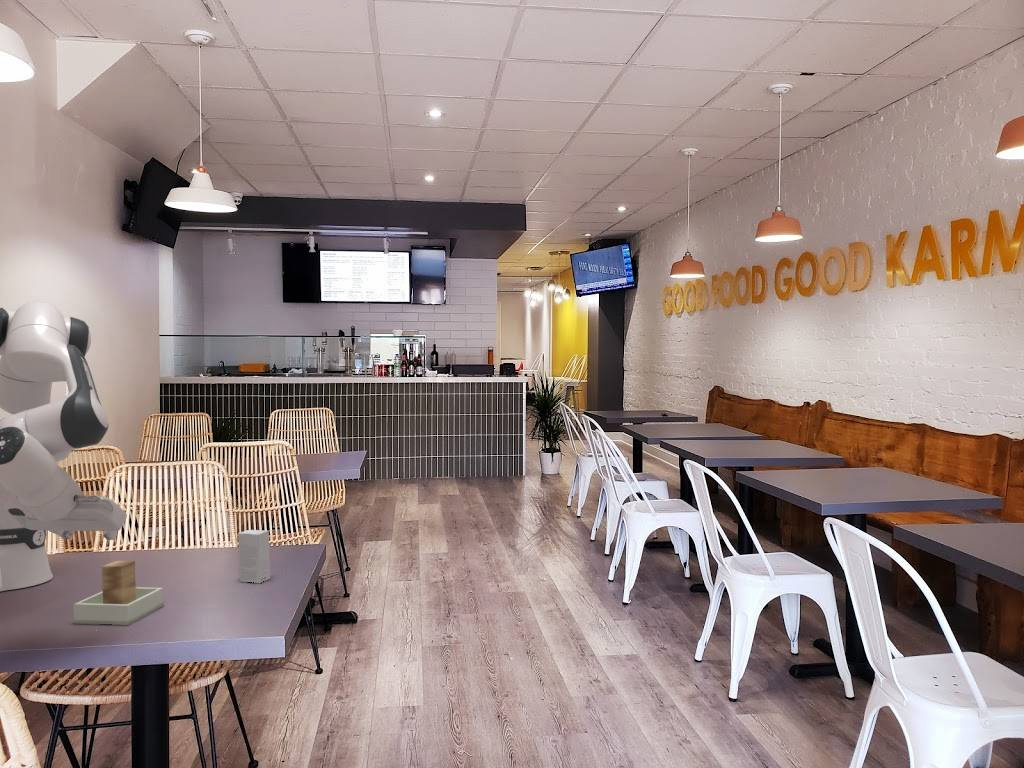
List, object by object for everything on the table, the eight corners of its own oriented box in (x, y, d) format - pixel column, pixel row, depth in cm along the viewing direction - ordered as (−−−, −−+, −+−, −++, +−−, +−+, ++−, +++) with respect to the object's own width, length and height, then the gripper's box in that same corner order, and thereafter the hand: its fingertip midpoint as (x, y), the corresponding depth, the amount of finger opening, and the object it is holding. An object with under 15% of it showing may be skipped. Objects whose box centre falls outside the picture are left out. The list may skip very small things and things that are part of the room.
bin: (73, 623, 151) (73, 604, 151) (112, 604, 163) (112, 586, 162) (128, 625, 149) (127, 605, 149) (163, 606, 161) (163, 587, 161)
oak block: (103, 613, 154) (101, 566, 154) (117, 607, 158) (115, 560, 158) (122, 614, 153) (121, 566, 153) (136, 607, 158) (134, 561, 158)
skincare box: (270, 579, 181) (269, 530, 180) (259, 584, 177) (258, 534, 176) (249, 577, 182) (248, 529, 182) (238, 582, 178) (237, 532, 178)
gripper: (112, 483, 138) (145, 523, 148) (13, 482, 141) (52, 522, 151) (96, 511, 134) (132, 551, 144) (-6, 510, 136) (36, 549, 146)
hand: (90, 536), depth 147 cm, fingers open, 8 cm apart
